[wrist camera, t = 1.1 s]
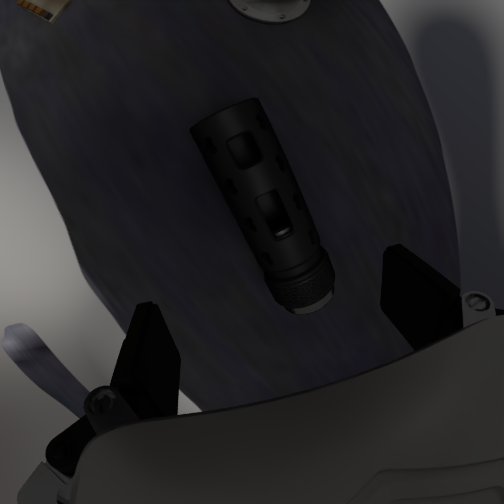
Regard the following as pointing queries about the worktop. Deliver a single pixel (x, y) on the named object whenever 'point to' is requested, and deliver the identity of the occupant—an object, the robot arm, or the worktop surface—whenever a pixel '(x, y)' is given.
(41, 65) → the worktop surface
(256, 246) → the muzzle brake
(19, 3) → the breaker board
